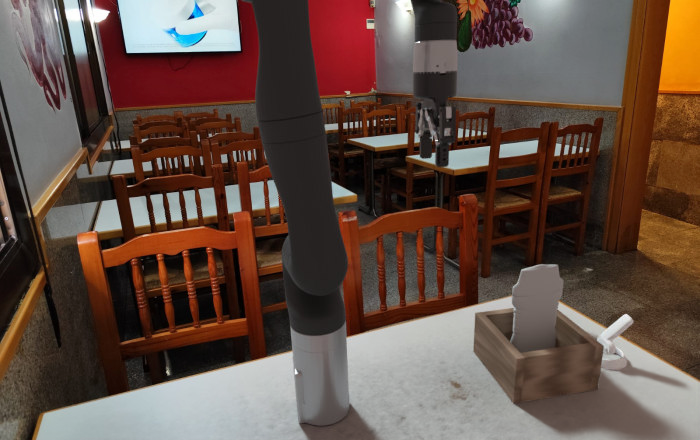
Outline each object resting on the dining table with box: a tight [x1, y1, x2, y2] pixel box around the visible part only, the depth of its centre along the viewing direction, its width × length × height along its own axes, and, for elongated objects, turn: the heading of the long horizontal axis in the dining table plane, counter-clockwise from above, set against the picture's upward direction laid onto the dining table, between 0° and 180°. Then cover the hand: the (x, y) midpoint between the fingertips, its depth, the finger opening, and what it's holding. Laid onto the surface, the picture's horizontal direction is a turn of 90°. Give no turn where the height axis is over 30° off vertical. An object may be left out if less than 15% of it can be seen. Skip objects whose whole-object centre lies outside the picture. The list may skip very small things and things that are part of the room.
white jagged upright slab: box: [510, 263, 564, 353], centre depth 89 cm, size 11×4×22 cm, turn 105°
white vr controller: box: [596, 313, 634, 371], centre depth 94 cm, size 8×12×7 cm
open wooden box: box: [473, 307, 604, 404], centre depth 91 cm, size 16×16×9 cm
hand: (433, 162), depth 87 cm, fingers open, 8 cm apart
